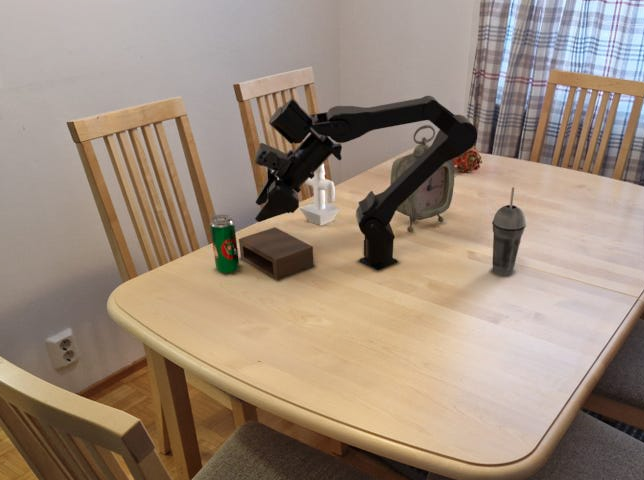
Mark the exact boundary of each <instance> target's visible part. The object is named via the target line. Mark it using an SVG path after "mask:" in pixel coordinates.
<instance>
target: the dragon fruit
mask: <svg viewBox="0 0 644 480" xmlns="http://www.w3.org/2000/svg"><path fill="white" fill-rule="evenodd" d="M452 160H453V163H454V167H455V166H456V169H457V171H458V172H462V171H465V173H472V172H473V171H477V170H479V169H480V168H481V164H482V163H483V159H482V154H481V153H480V151H478V149H477V148H476V147H475V145H474V146H473V147H472V148H471V149H469V150H468V151H466V152H465V153H464V154H462V155H461V156H459V157H457V158H454V159H452Z"/></svg>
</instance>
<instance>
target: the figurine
mask: <svg viewBox="0 0 644 480" xmlns="http://www.w3.org/2000/svg"><path fill="white" fill-rule="evenodd" d="M324 163H325V162H324ZM324 163H323V164H322V165H321V166H320V167H319V168H318V169H317V170H316V171H315V172H314V175H315V176H314V177H313V178H312V179H310V178H308V180H307V181H306V182H305V183H304V184H305V185H306V186H307V185H308V186H309V187H312V188H313V202H312V203H309V204H306V205H304V206H301V207H299V210H300V211H301V213H302V215H304V218H306V220H307V222H308V223H311V224H314V225H317V226H319V227H322V226H324V225H327V224H329V223H331V222H333V221H334V219H335V217H336V215H337V214H338V212H339V211H340V208H341V207H339V206H338V205H337V206H336V205H333V204H332V203H334V202H335V201H336V194H335V183H334V182H333V181H332V180H330V179H327V178H325V175H326V170H325V164H324Z"/></svg>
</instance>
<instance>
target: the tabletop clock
mask: <svg viewBox="0 0 644 480" xmlns="http://www.w3.org/2000/svg"><path fill="white" fill-rule="evenodd" d="M425 129H431V130H432V136H431V137H430V138H428V139H427V137H425V136H424V137H421V140H420V141H419V140H417V139H416V137H417V134H418V133H419V132H420V131H422V130H425ZM435 137H436V129H435V127H434V126H433V125H431V124H426V125H425V124H424V125H422V126H420V127H418V128H417V129H416V130H415V132H414V133H413V137H412V138H413V141H414V143H415V144H416V146H415V147H414V149H413V151H412V153H409V154H406V155H403V156H401V157H399V158H396V159H395V160H394V161H393V162H392V165H391V171H390V183H389V184H390V185H391V184H392V183H393V182H394V181H395V180H396V179H397V178H398V177H399V176H400V175H402V174H403V173H404V172H405V171H406V170H407V169H408V168H409V167H410V166H411V165H412V164H413V163H414V162H415V161H416V160H417V159H418V158H419V157H420V156H421V155H422V154H423V153H424V152H425V151H426V150H427V149H428V148H429V147H430V146H431V145H429V144H428V143H430V142H432V141H433V140H434V139H435ZM417 144H418V145H417ZM390 185H389V186H390ZM454 186H455V166H454V163H453V160H449V161H447V162H445V163H444V164H443V165H442V166H441V167H440V168H439V169H438V170H437V171H436V172H435V173H434V174H433V175H432V176H430V177H429V178H428V179H427V180H426V181H425V182H424V183H423V184H422V185H421V186H420V187H419V188H418V189H417V190H416V191H415V192H414V193H413V194H412V195H411V196H410V197H408V198H407V199H406V200H405V201H404V202H403V203H402V204H401V205H400V206H399V207H398V208H397V210H396V212H398V213H400V214H402V215H405V217H409V226H408V227H407V232H408V233H410V234H411V233H414V231H415V228H414V227H413V224H414V223H416V222H417V221H423V220H425V219H430V218H434V217H436V216H437V217H438V218H437V221H438V222H439V223H441V224H442V223H443V222H445V218H444V217H443V216H442V215H441V214H443V213H444V212H446V211H447V210H448V209H449V208H450V206H451V203H452V200H453V194H454Z"/></svg>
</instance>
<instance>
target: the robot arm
mask: <svg viewBox="0 0 644 480" xmlns="http://www.w3.org/2000/svg"><path fill="white" fill-rule="evenodd" d="M425 121H429V122H430V123H432V124H433V125H434V126H435V127H436V128H437V129H439V130H438V131H437V132H436V134H435V136H434V138H433V140H432V141H433V142H432V143H431V145H429V146H430V147H429V148H428V149H427V150H426V151H425V152H424V153H423V154H422V155H421V156H420V157H419V158H418V159H417V160H416V161H415V162H414V163H413V164H412V165H411V166H410V167H409V168H408V169H407V170H406V171H405V172H404V173H403V174H402V175H400V176H399V177H398V178H397V179H396V180H395V181H394V182H393V183H392V184H391V185H389V186H388V187H387V188H385V190H383V191H382V192H380V193H377V194H375V193H374V191H373V190H370V191H369V193H367V195H366V196H365V198H363V199H362V200H359V201H358V206H357V208H356V211H355V218H356V221H357V222H356V223H357V225H358V229H359V231H360V232H361V233H362V235H364V238H363V257H361V258H359V262H360V263H362V264H364V265H366V266H368V267H370V268H371V269H373V270H375V271H381V270H384V269H385V268H388V267H391V266H393V265H395V264H398V261H399V260H398V259H397V258H395V257H394V241H395V238H396V236H395V234H394V230H393V228H392V225H391V222H392V219H393V217H394V216H395V214H396V212H397V211H396V210H397V208H398V207H399V206H400V205H401V204H402V203H403V202H404V201H405V200H406V199H407V198H408V197H410V196H411V195H412V194H413V193H414V192H415V191H416V190H417V189H418V188H419V187H420V186H421V185H422V184H423V183H424V182H425V181H426V180H427V179H428V178H429V177H430V176H432V175H433V174H434V173H435V172H436V171H437V170H438V169H439V168H440V167H441V166H442V165H443V164H444V163H445V162H447V161H449V160H452V159H454V158H457V157H459V156H461V155H462V154H464V153H465V152H466V151H468V150H469V149H471V148H472V147H473V146H474V147H475V145H476V144H477V142H478V130H477V128H476V127H475V125H474V124H473V123H472V122H471V121H470V120H469V119H468V117H466V116H465V115H462V114H454V113H453V112H451V110H449V109H448V108H447V107H445V106H444V105H443V104H441V103H440V102H439V101H438V100H437V99H436V98H435V97H434V96H431V95H425V96H422V97H419V98H413V99H408V100H403V101H397V102H392V103H387V104H386V103H385V104H381V105H376V106H370V107H369V106H368V107H362V106H354V105H335V106H333V107H330V108H329V109H328V111H325V112H319V113H311V114H309V113H308V112H307V111H306V110H305V109H304V108H302V107H301V105H300V104H299V102H298V101H297V100H296V99H295V98H294V97H291V98H290V99H289V100H288V101H287V102H285V103H284V104H282V106H279V107H278V108H277V109H276V110H275V112H274V113H273V114H272V116H271V117H270V119H269V121H268V125H270V127H271V128H273V129H274V130H275V131H276V132H277V133H278V134H280V136H281V137H283V138H284V139H285V140H286V141H287V142H288V143H289V144H290V145H291V144H295V145H297V144H299V145H298V146H297V148H296V149H289V151H288V152H287V153H286V152H284V151H282V150H280V149H277V148H276V147H273V146H271V145H269V144H266V143H263V142H260V143H259V146H258V148H257V150H256V153H255V156H254V163H255V164H256V165H258V166H260V167H265V168H266V173H267V174H266V175H267V180H266V182H265V183H264V185H263V186H262V189H261V190H260V192H259V195H258V196H257V198H256V199H255V204H256V205H258V206H261V205H262V207H261V208H260V210H259V211H258V213H257V214H256V216H255V217H254V219H255V221H257V222H258V223H261V222H265V221H267V220H269V219H270V220H271V219H272V218H276V217H278V216H281V215H284V214H285V215H286V214H290V213H291V214H294V213H295V212H296V211H297V210H298V209H299V208H300V200H299V193H300V192H301V191H302V186H303V185H304V184H306V183H305V182H306V181H307V180H308V178H310V179H312V178H313V177H314V176H315V175H314V172H315V171H316V170H317V169H318V168H319V167H320V166H321V165H322V164H323V163H325V162H326V161H327V160H328V159H329V158H330V157H331V156H334V157H335V158H336V159H337V160H338V161H341V160H342V149H343V146H342V144H345V143H348V142H351V141H353V140H356V139H358V138H361V137H363V136H364V135H366V134H368V133H370V132H373V131H376V130H381V129H385V128H392V127H398V126H402V125H407V124H413V123H414V124H415V123H420V122H425Z"/></svg>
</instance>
